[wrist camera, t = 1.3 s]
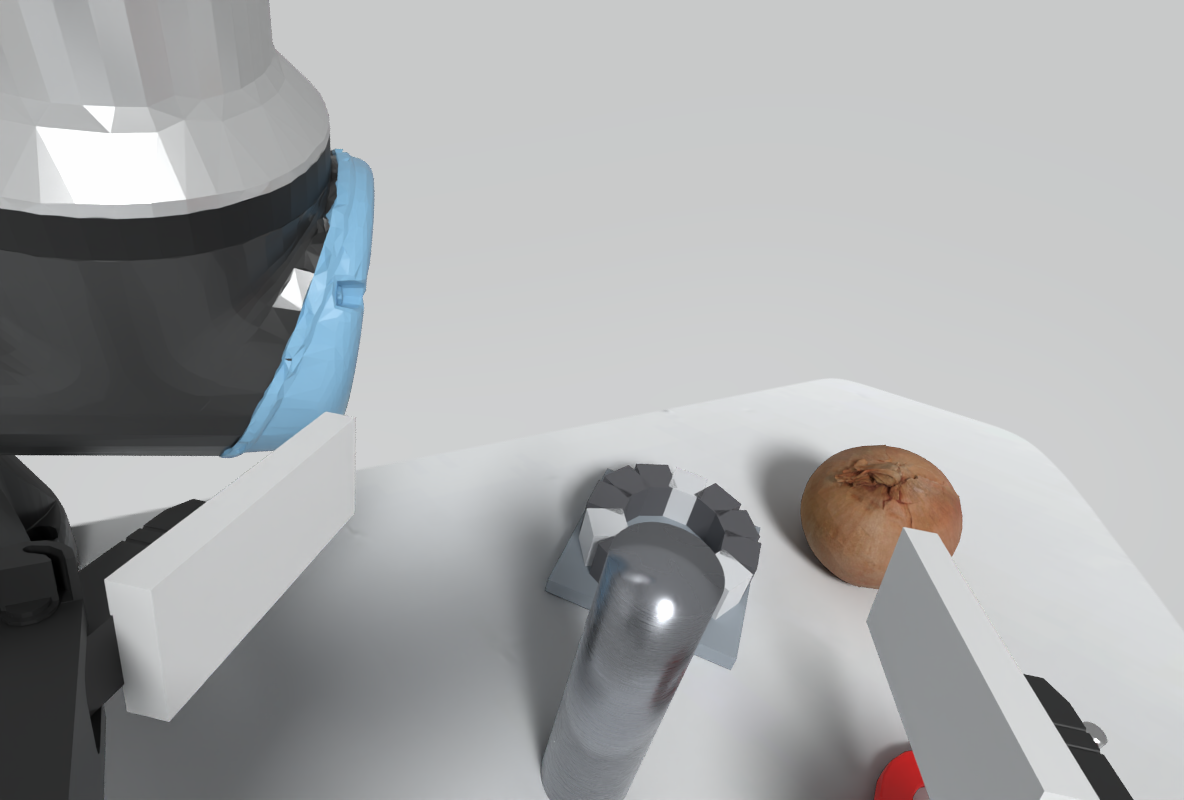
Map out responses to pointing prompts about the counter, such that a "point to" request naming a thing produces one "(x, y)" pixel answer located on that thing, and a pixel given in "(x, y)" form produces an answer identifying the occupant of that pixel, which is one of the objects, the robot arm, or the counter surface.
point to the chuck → (677, 504)
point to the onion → (875, 509)
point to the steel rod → (630, 659)
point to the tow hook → (906, 778)
